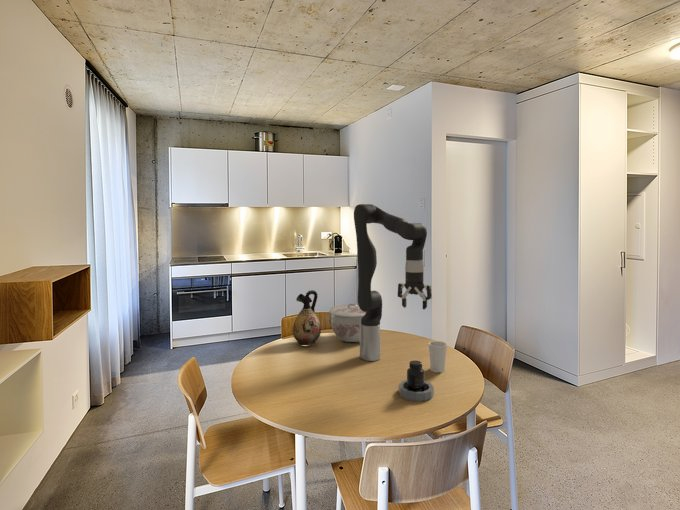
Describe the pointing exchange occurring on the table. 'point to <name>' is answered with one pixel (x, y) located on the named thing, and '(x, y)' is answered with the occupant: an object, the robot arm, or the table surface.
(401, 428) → the table surface
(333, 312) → the chamber pot
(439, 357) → the cup
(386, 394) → the table surface
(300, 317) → the ceramic jug
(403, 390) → the dish
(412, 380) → the supplement bottle
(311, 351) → the table surface
